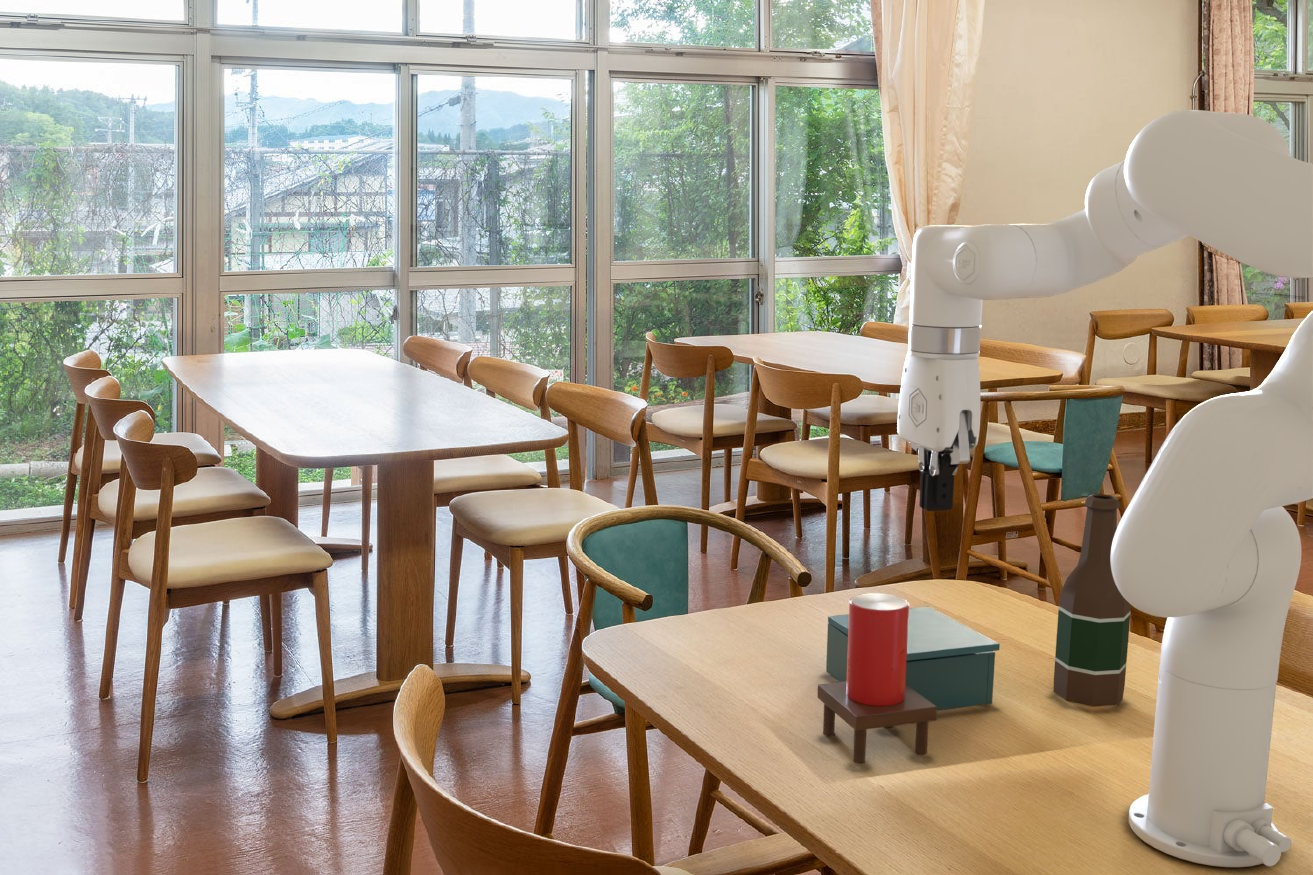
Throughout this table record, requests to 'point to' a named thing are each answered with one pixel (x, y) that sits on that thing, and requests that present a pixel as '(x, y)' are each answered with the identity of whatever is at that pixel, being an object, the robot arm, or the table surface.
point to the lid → (933, 635)
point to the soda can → (877, 649)
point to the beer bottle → (1093, 617)
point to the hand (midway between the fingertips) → (935, 508)
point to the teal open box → (930, 674)
